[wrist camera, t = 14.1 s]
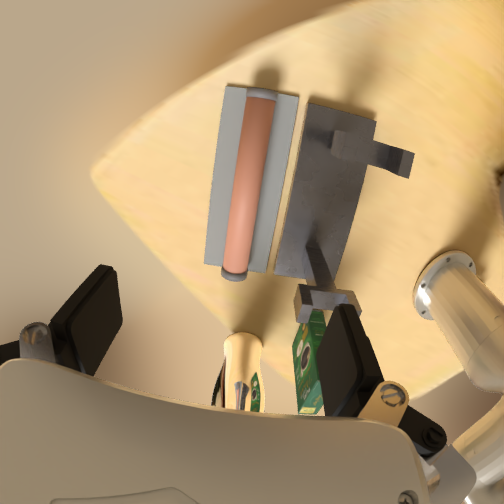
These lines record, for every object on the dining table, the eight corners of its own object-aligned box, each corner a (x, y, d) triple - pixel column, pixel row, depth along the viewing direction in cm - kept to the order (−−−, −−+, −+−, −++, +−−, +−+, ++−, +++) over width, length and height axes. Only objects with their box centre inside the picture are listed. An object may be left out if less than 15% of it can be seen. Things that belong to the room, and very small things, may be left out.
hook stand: (372, 121, 28) (433, 127, 16) (331, 278, 37) (355, 347, 25) (306, 103, 28) (336, 92, 16) (273, 269, 37) (277, 340, 25)
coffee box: (307, 348, 43) (317, 416, 32) (290, 346, 43) (296, 416, 31) (324, 310, 40) (341, 380, 28) (305, 307, 40) (317, 379, 28)
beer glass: (212, 338, 43) (196, 418, 30) (251, 323, 41) (246, 408, 28) (235, 364, 46) (227, 441, 32) (272, 352, 44) (274, 432, 30)
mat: (298, 97, 27) (298, 97, 27) (265, 271, 37) (265, 273, 37) (226, 86, 27) (225, 86, 27) (204, 262, 37) (204, 263, 37)
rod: (247, 89, 27) (246, 86, 24) (276, 93, 27) (279, 91, 24) (222, 266, 37) (219, 279, 34) (247, 269, 37) (246, 283, 34)
